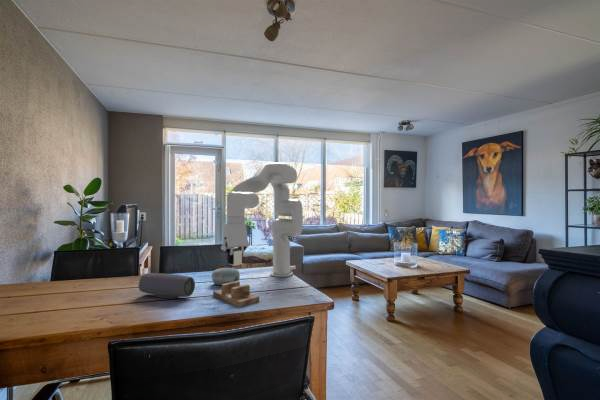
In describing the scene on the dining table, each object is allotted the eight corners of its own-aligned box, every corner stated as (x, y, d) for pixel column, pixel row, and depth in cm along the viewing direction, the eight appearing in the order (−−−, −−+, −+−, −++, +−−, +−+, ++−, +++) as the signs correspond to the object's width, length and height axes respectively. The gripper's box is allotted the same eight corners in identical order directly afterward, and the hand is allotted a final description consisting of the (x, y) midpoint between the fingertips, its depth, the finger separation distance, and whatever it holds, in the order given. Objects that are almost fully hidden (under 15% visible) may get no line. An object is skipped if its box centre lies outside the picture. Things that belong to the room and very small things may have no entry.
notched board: (232, 291, 147) (232, 278, 147) (259, 301, 133) (259, 287, 133) (213, 295, 140) (213, 282, 140) (239, 307, 126) (239, 292, 126)
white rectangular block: (236, 262, 140) (236, 247, 139) (242, 264, 137) (242, 248, 137) (228, 264, 137) (228, 248, 137) (233, 265, 134) (234, 250, 134)
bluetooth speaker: (195, 295, 140) (196, 273, 140) (182, 302, 131) (182, 278, 131) (152, 291, 146) (152, 269, 146) (137, 297, 137) (137, 274, 137)
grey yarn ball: (242, 274, 165) (236, 259, 161) (241, 287, 157) (235, 272, 152) (217, 280, 165) (210, 266, 161) (214, 293, 157) (207, 279, 152)
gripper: (246, 219, 145) (246, 259, 145) (213, 221, 133) (213, 264, 133) (256, 220, 140) (256, 261, 140) (223, 222, 128) (223, 267, 128)
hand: (235, 262), depth 137 cm, fingers closed on white rectangular block, 4 cm apart
